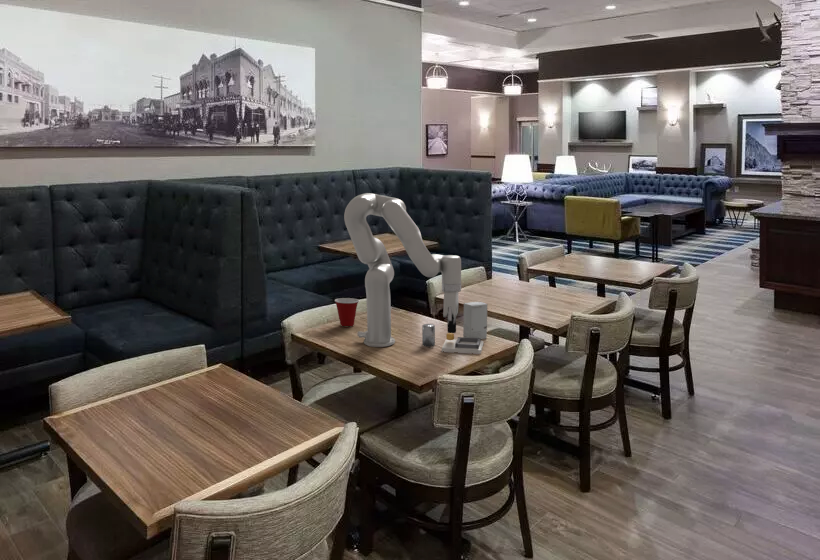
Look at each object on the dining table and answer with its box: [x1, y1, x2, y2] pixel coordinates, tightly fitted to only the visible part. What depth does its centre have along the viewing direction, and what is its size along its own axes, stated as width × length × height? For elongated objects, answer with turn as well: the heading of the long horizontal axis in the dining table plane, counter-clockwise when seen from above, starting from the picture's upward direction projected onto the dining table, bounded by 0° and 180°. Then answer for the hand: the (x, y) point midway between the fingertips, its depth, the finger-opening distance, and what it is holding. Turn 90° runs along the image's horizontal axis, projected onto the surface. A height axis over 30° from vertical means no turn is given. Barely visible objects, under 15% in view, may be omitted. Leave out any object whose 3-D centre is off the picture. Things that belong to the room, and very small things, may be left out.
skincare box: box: [462, 301, 488, 340], centre depth 258 cm, size 8×6×15 cm
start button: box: [445, 332, 455, 340], centre depth 249 cm, size 3×3×2 cm
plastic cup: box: [334, 297, 360, 327], centre depth 278 cm, size 11×11×12 cm
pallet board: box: [441, 336, 484, 355], centre depth 247 cm, size 15×12×3 cm
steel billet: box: [421, 323, 436, 348], centre depth 251 cm, size 5×5×8 cm
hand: (451, 332), depth 248 cm, fingers closed
